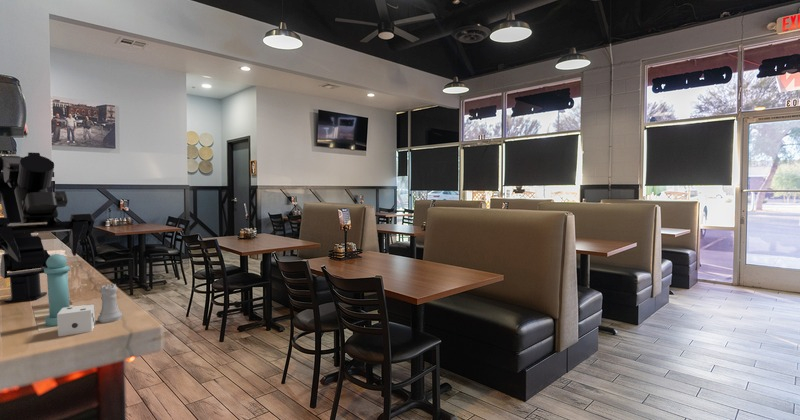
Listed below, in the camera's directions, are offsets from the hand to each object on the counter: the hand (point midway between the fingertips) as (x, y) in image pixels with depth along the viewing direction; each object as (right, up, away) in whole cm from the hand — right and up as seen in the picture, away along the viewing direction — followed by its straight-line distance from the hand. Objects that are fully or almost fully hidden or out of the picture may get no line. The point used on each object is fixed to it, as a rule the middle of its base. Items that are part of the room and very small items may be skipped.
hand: (48, 257), depth 88 cm
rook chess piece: (+15, -14, -3) cm, 21 cm away
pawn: (+6, -13, -4) cm, 15 cm away
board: (0, -13, +2) cm, 13 cm away
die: (+13, -14, -9) cm, 21 cm away
